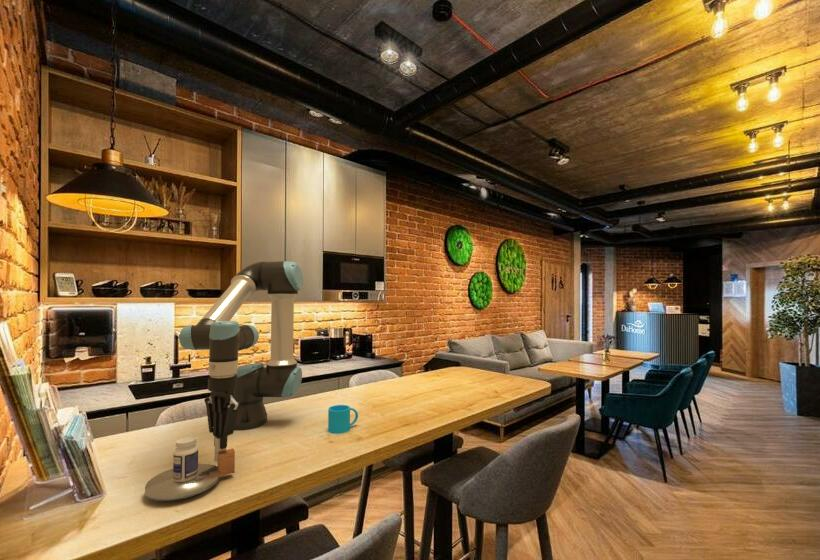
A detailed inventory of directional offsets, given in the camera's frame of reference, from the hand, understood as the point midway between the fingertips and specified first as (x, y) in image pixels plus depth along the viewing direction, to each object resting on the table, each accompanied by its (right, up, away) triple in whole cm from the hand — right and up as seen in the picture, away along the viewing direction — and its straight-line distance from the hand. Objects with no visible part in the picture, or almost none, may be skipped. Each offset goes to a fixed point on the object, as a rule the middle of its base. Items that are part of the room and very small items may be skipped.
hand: (220, 459), depth 106 cm
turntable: (-4, -3, -6) cm, 8 cm away
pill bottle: (-6, -2, -7) cm, 9 cm away
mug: (+29, -6, +37) cm, 47 cm away
